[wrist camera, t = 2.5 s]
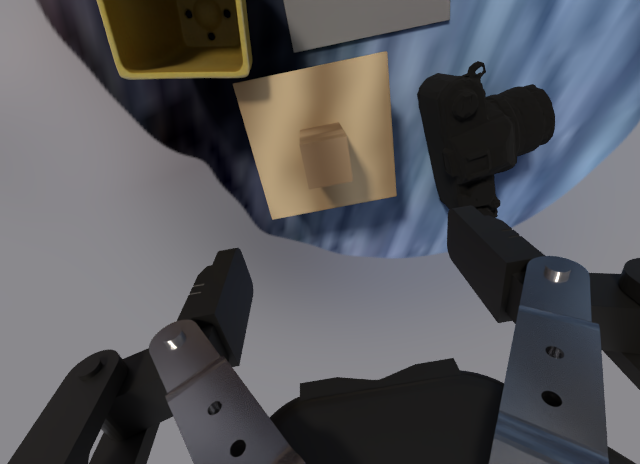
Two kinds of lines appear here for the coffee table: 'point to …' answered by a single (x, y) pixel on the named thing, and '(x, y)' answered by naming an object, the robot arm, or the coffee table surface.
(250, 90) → the lid
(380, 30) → the mat
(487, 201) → the film camera
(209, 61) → the flower pot
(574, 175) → the coffee table surface
